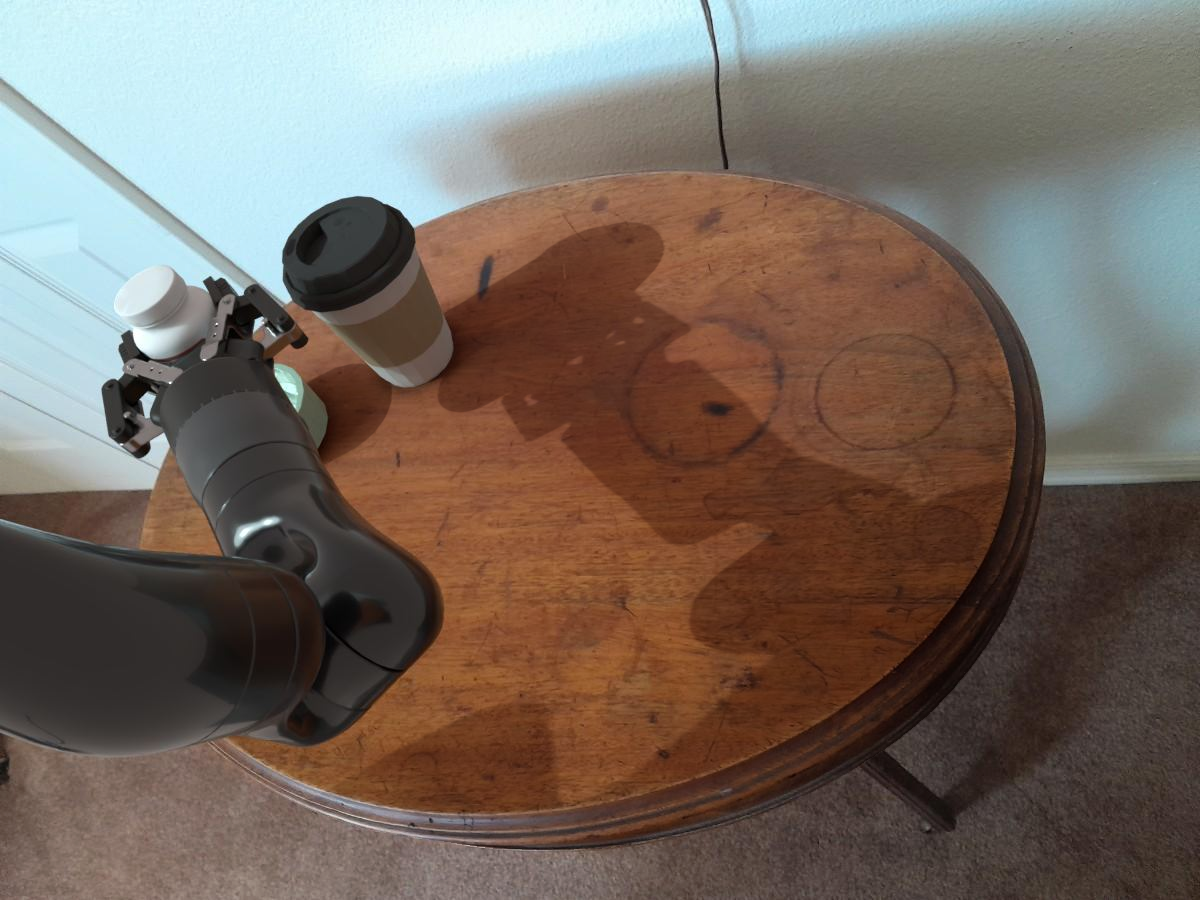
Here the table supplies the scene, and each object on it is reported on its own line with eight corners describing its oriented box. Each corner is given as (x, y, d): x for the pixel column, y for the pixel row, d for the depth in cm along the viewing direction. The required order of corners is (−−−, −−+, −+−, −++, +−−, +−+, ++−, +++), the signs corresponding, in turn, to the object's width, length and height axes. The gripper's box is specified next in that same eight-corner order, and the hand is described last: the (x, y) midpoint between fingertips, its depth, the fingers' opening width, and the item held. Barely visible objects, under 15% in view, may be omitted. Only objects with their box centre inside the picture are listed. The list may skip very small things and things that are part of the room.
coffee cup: (368, 325, 83) (281, 206, 72) (478, 299, 81) (407, 171, 69) (354, 418, 77) (256, 303, 65) (473, 392, 75) (393, 268, 63)
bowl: (299, 496, 73) (269, 468, 70) (202, 487, 77) (169, 460, 74) (348, 395, 79) (322, 364, 75) (256, 391, 83) (227, 362, 79)
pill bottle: (240, 352, 69) (146, 250, 61) (293, 366, 66) (202, 262, 58) (191, 412, 67) (85, 314, 58) (244, 429, 64) (140, 330, 55)
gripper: (308, 337, 51) (226, 218, 61) (95, 484, 49) (47, 336, 59) (370, 412, 57) (286, 293, 67) (182, 546, 54) (125, 402, 65)
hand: (174, 313), depth 63 cm, fingers closed on pill bottle, 6 cm apart
